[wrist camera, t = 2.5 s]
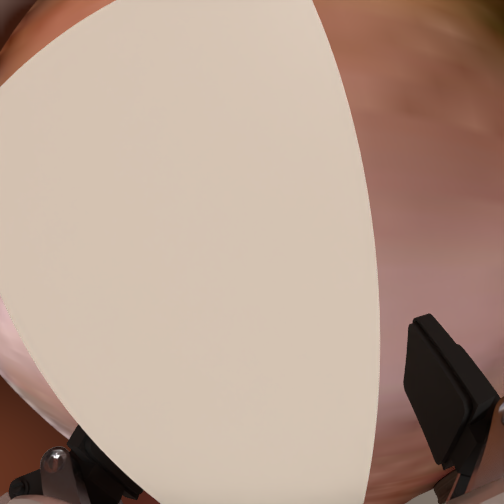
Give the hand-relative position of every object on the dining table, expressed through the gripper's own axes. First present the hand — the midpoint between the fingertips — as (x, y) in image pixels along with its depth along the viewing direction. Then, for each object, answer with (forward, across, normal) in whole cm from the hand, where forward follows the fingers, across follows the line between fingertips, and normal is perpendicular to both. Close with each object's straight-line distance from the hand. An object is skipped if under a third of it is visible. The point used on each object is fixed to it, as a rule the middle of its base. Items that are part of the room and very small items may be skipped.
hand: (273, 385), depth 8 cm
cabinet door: (+9, -1, 0) cm, 9 cm away
